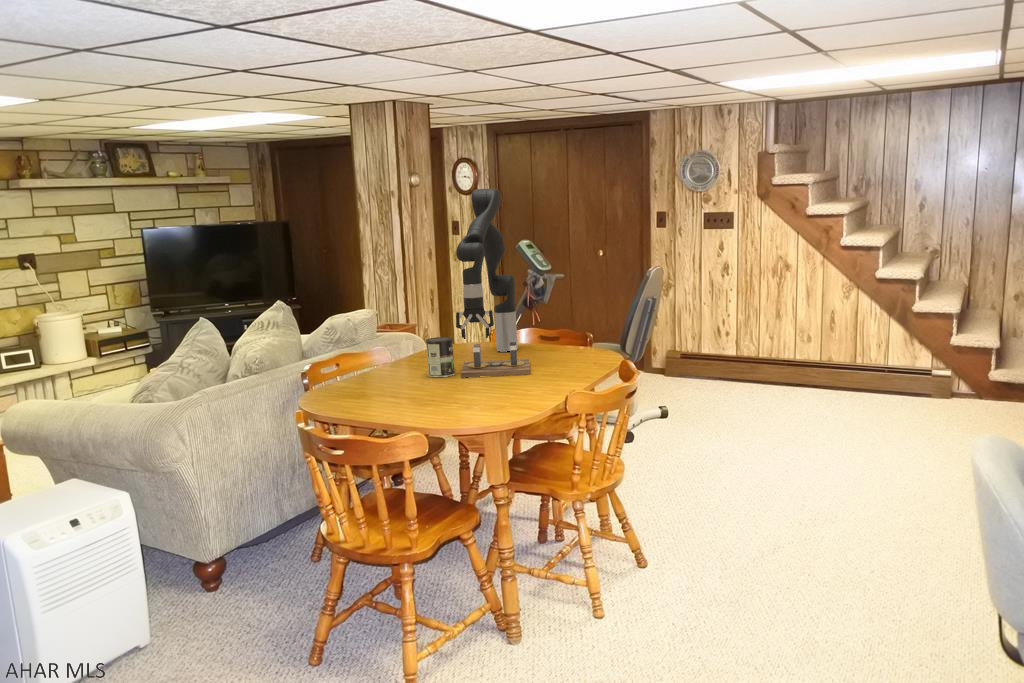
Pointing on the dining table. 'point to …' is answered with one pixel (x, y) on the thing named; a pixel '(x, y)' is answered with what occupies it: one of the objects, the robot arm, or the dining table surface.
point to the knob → (513, 357)
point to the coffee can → (440, 357)
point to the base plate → (496, 369)
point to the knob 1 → (477, 358)
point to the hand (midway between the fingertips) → (475, 338)
